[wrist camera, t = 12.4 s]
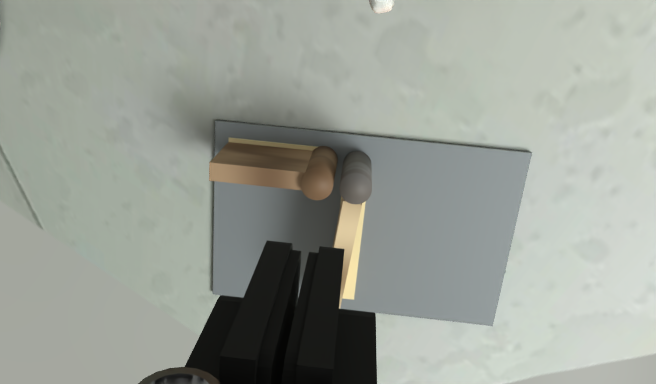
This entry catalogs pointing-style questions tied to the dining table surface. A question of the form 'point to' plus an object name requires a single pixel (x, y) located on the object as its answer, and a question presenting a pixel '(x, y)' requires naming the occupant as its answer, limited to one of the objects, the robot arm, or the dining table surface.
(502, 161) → the card
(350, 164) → the tan wooden board
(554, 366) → the dining table surface
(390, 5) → the bull figurine
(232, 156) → the fence section
